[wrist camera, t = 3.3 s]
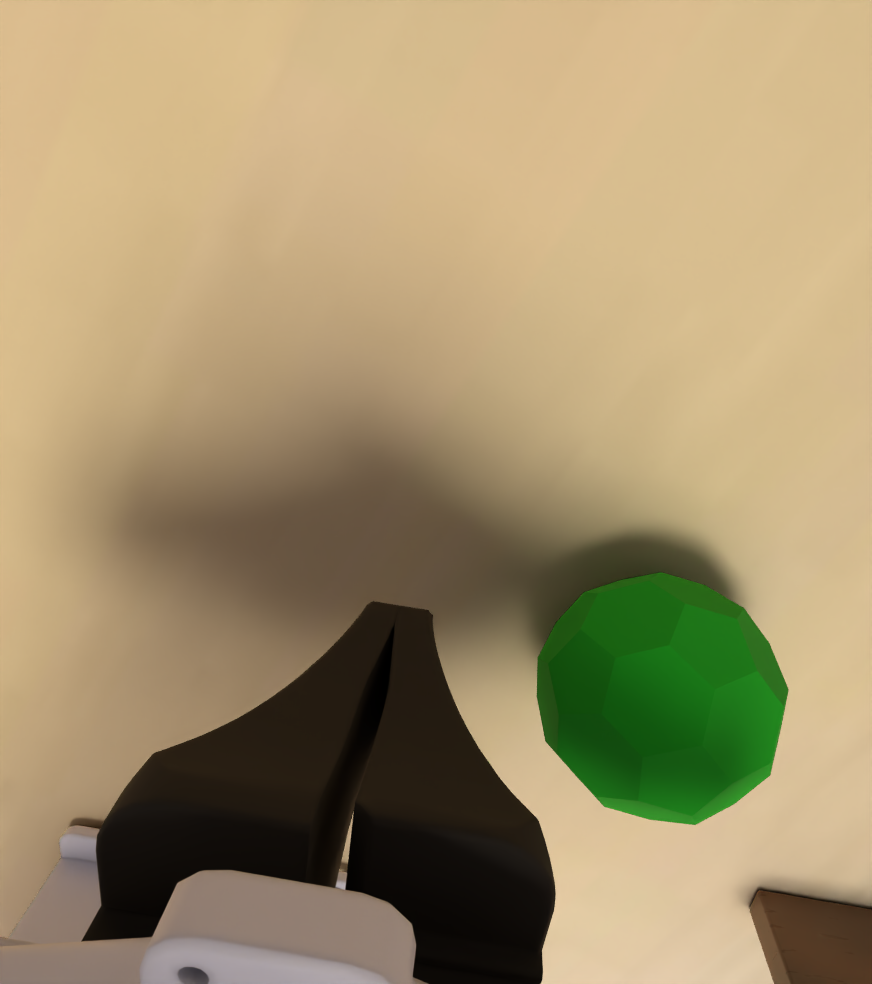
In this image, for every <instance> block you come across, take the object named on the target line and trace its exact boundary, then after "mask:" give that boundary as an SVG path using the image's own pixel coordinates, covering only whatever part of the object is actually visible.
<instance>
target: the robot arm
mask: <svg viewBox="0 0 872 984" xmlns="http://www.w3.org/2000/svg"><path fill="white" fill-rule="evenodd" d="M353 811H354V816H353V825H352V833H351V842H350V851H349V860H348V869H347V872H343V871H339V869H340V864H341V860H342V855H343V851H344V846H345V842H346V837H347V833H348V829H349V825H350V822H351V818H352V815H353ZM59 846H60V854H61V858H60V859H59V861H58V862H57V864H56V865H55V867H54V868H53V870H52V871H51V873H50V874H49V876H48V878H47V879H46V881H45V882H44V884H43V885H42V887H41V888H40V890H39V891H38V893H37V894H36V896H35V897H34V899H33V900H32V902H31V903H30V905H29V906H28V908H27V910H26V911H25V913H24V914H23V916H22V917H21V919H20V920H19V922H18V923H17V925H16V926H15V928H14V929H13V931H12V932H11V934H10V935H9V937H8V938H4V937H0V984H541V981H542V975H543V965H542V948H543V945H544V941H545V938H546V935H547V931H548V928H549V925H550V922H551V918H552V915H553V912H554V906H555V895H556V894H555V883H554V877H553V872H552V867H551V862H550V857H549V854H548V850H547V846H546V842H545V839H544V836H543V833H542V830H541V827H540V824H539V821H538V819H537V818H536V817H535V816H534V815H533V814H532V813H531V812H530V811H529V810H528V809H527V808H526V807H525V806H524V805H523V804H522V803H521V802H520V801H519V800H518V799H517V798H516V797H515V796H514V795H513V793H512V792H511V791H510V790H509V789H508V788H507V786H506V785H505V784H504V783H503V781H502V780H501V779H500V778H499V777H498V775H497V774H496V772H495V771H494V769H493V768H492V766H491V765H490V764H489V762H488V761H487V759H486V758H485V756H484V755H483V753H482V752H481V751H480V749H479V748H478V746H477V744H476V743H475V741H474V739H473V737H472V736H471V734H470V732H469V730H468V729H467V727H466V725H465V723H464V721H463V719H462V717H461V715H460V713H459V711H458V709H457V706H456V704H455V702H454V699H453V697H452V694H451V692H450V690H449V687H448V684H447V682H446V679H445V676H444V673H443V669H442V666H441V663H440V660H439V656H438V652H437V648H436V644H435V639H434V633H433V615H432V614H431V613H430V611H429V610H424V609H417V608H411V607H405V606H399V605H393V604H387V603H380V602H374V601H373V602H371V603H369V604H368V605H367V606H366V607H365V609H364V610H363V612H362V613H361V614H360V616H359V617H358V618H357V619H356V621H355V622H354V623H353V624H352V625H351V627H350V628H349V629H348V630H347V631H346V632H345V633H344V634H343V636H342V637H341V638H340V639H339V640H338V641H337V642H336V643H335V644H334V645H333V646H332V647H331V648H330V649H329V650H328V651H327V652H326V653H325V654H324V655H323V656H322V657H321V658H320V659H319V660H317V661H316V662H315V663H314V664H313V665H312V666H311V667H310V668H309V669H307V670H306V671H305V672H304V673H303V674H302V675H300V676H299V677H298V678H297V679H296V680H294V681H293V682H292V683H290V684H289V685H288V686H287V687H285V688H284V689H282V690H281V691H280V692H278V693H277V694H276V695H274V696H273V697H271V698H270V699H268V700H267V701H265V702H264V703H262V704H260V705H259V706H257V707H256V708H254V709H253V710H251V711H249V712H248V713H246V714H244V715H243V716H241V717H239V718H237V719H235V720H233V721H231V722H229V723H227V724H225V725H223V726H221V727H219V728H217V729H215V730H213V731H211V732H208V733H206V734H204V735H202V736H199V737H197V738H194V739H192V740H189V741H186V742H184V743H181V744H178V745H176V746H173V747H170V748H168V749H165V750H162V751H159V752H156V753H154V754H152V756H151V757H150V758H149V759H148V760H147V762H146V763H145V764H144V765H143V766H142V768H141V769H140V770H139V771H138V772H137V774H136V775H135V776H134V777H133V779H132V780H131V781H130V782H129V784H128V785H127V786H126V788H125V789H124V791H123V792H122V794H121V795H120V797H119V798H118V800H117V801H116V803H115V805H114V806H113V808H112V810H111V811H110V813H109V815H108V816H107V818H106V819H105V821H104V823H103V825H102V827H101V829H97V828H92V827H86V826H79V825H74V826H71V827H68V828H67V829H66V830H65V832H64V833H63V835H62V836H61V838H60V841H59Z"/></svg>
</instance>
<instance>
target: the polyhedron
mask: <svg viewBox="0 0 872 984" xmlns="http://www.w3.org/2000/svg"><path fill="white" fill-rule="evenodd" d="M787 695H788V687H787V685H786V682H785V680H784V678H783V675H782V673H781V670H780V668H779V666H778V663H777V661H776V658H775V656H774V653H773V651H772V649H771V646H770V644H769V642H768V641H767V640H766V638H765V637H764V635H763V634H762V633H761V631H760V630H759V628H758V627H757V626H756V624H755V623H754V621H753V620H752V619H751V617H750V616H749V614H748V613H747V612H746V610H745V609H744V608H743V607H741V606H739V605H738V604H736V603H734V602H733V601H731V600H729V599H727V598H726V597H724V596H722V595H721V594H719V593H717V592H716V591H714V590H712V589H711V588H709V587H707V586H706V585H703V584H700V583H696V582H693V581H689V580H686V579H683V578H679V577H676V576H672V575H669V574H666V573H662V572H660V573H654V574H649V575H644V576H638V577H633V578H628V579H622V580H619V581H616V582H613V583H610V584H607V585H604V586H601V587H598V588H595V589H592V590H589V591H586V592H584V593H583V594H582V595H581V596H580V597H579V598H578V599H577V600H576V601H575V602H574V603H573V605H572V606H571V607H570V608H569V609H568V610H567V611H566V612H565V613H564V614H563V615H562V616H561V618H560V619H559V620H558V621H557V622H556V624H555V626H554V627H553V629H552V631H551V633H550V635H549V637H548V639H547V641H546V643H545V645H544V647H543V649H542V651H541V652H540V654H539V656H538V667H537V700H538V705H539V710H540V715H541V720H542V725H543V731H544V736H545V741H546V742H547V744H548V745H549V746H550V747H551V748H552V749H553V750H554V751H555V753H556V754H557V755H558V756H559V757H560V758H561V759H562V761H563V762H564V763H565V764H566V765H567V766H568V767H569V768H570V770H571V771H572V772H573V773H574V774H575V775H576V776H577V777H578V778H579V780H580V781H581V782H582V783H583V784H584V785H585V786H586V787H587V788H588V789H589V790H590V792H591V793H592V794H593V795H594V796H595V797H596V798H597V799H598V800H599V801H600V803H601V804H602V805H603V806H604V807H608V808H611V809H615V810H618V811H622V812H625V813H629V814H632V815H636V816H639V817H643V818H646V819H650V820H658V821H667V822H675V823H683V824H692V825H696V824H698V823H699V822H701V821H703V820H705V819H707V818H709V817H711V816H713V815H715V814H716V813H718V812H720V811H722V810H724V809H726V808H728V807H730V806H731V805H733V804H735V803H736V802H737V801H739V800H740V799H741V798H742V797H744V796H745V795H746V794H747V793H749V792H750V791H751V790H752V789H754V788H755V787H756V786H757V785H759V784H760V783H761V782H762V781H764V780H765V779H766V778H767V777H769V776H770V774H771V769H772V765H773V760H774V756H775V752H776V747H777V743H778V739H779V734H780V730H781V725H782V720H783V715H784V710H785V705H786V700H787Z"/></svg>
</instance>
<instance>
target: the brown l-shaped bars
mask: <svg viewBox="0 0 872 984" xmlns="http://www.w3.org/2000/svg"><path fill="white" fill-rule="evenodd" d="M750 913H751V916H752V919H753V922H754V925H755V928H756V931H757V934H758V937H759V940H760V943H761V946H762V949H763V952H764V955H765V958H766V961H767V964H768V967H769V970H770V973H771V976H772V979H773V982H774V984H872V909H866V908H860V907H855V906H849V905H843V904H837V903H832V902H826V901H820V900H814V899H809V898H803V897H797V896H791V895H785V894H780V893H774V892H768V891H762V890H759V891H758V892H757V894H756V896H755V898H754V900H753V903H752V905H751V907H750Z"/></svg>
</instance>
